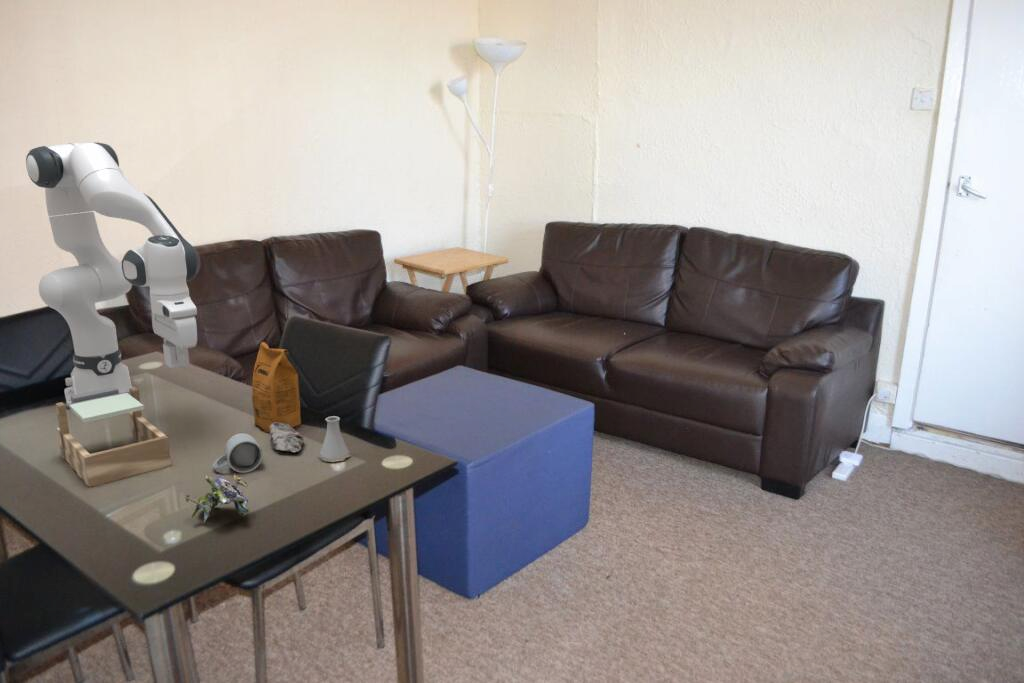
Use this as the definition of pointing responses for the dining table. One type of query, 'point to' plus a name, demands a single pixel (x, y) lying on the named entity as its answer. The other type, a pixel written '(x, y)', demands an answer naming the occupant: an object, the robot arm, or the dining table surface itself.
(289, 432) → the mineral rock
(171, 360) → the light grey block
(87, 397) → the trapdoor
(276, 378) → the coffee package
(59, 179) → the robot arm
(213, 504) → the passion flower
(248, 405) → the dining table surface
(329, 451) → the flask
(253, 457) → the ceramic mug
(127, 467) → the trapdoor frame
